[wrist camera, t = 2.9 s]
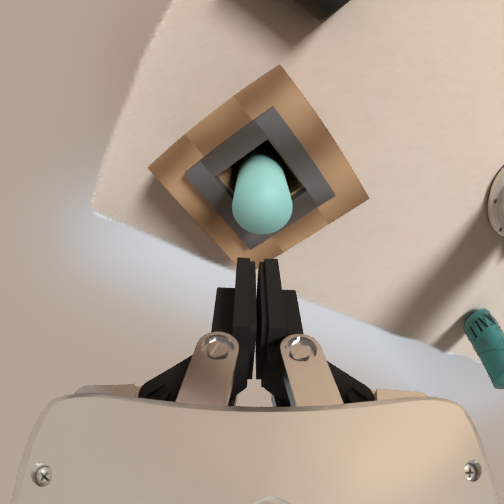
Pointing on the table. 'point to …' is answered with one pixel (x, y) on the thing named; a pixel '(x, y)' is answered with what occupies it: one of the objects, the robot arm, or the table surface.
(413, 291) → the table surface
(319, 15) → the end cap
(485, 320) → the beverage bottle
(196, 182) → the socket block
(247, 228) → the peg
